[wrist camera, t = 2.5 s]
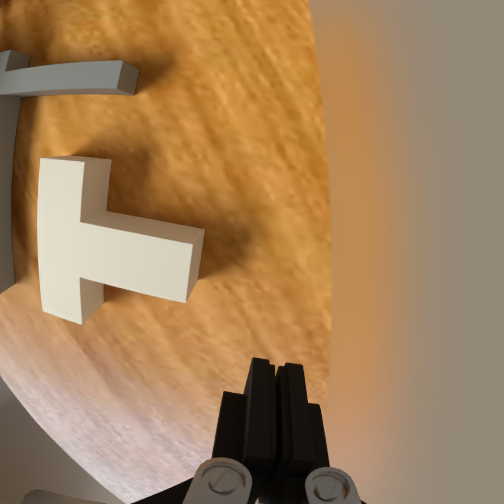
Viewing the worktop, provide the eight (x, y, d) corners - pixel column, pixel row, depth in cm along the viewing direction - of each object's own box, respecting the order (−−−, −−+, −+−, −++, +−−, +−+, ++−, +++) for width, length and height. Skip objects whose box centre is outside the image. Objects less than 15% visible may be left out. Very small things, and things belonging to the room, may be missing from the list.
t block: (192, 324, 25) (180, 352, 21) (66, 291, 25) (42, 311, 21) (214, 174, 22) (202, 178, 18) (70, 155, 22) (40, 157, 18)
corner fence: (113, 315, 25) (98, 333, 23) (3, 279, 25) (-15, 290, 22) (145, 46, 19) (130, 33, 16) (17, 58, 19) (-4, 53, 16)
